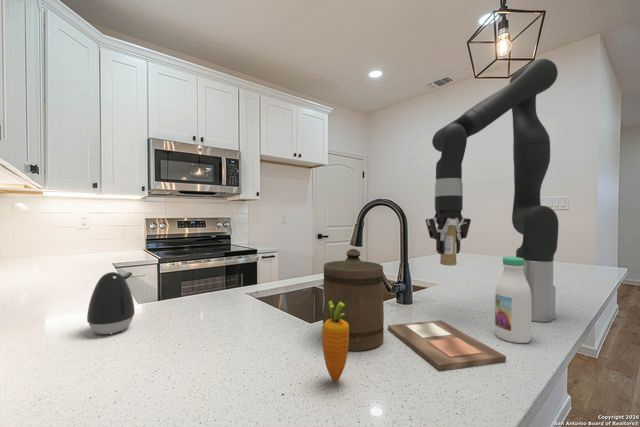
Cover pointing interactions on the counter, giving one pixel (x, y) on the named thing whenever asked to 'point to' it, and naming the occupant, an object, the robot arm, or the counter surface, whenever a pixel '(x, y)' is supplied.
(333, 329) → the carrot
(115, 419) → the counter surface
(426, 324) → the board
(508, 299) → the milk bottle
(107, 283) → the pump dispenser
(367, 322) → the wooden container
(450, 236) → the sprinkles bottle
